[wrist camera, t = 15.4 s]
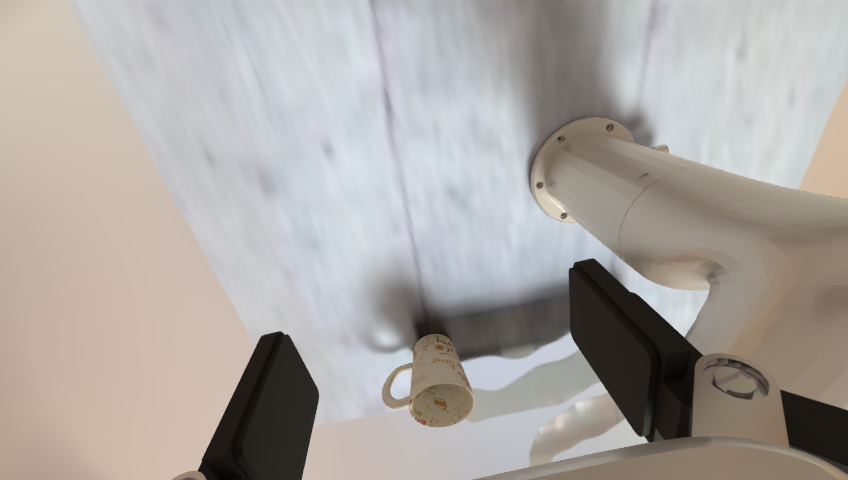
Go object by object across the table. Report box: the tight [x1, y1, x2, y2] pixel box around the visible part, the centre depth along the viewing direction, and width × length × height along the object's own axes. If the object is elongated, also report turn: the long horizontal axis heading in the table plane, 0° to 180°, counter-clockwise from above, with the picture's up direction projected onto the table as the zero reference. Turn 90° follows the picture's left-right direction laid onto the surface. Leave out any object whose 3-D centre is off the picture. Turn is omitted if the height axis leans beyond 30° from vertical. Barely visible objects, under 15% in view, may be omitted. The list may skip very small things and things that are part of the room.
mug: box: [382, 334, 475, 427], centre depth 48 cm, size 8×13×10 cm, turn 113°
